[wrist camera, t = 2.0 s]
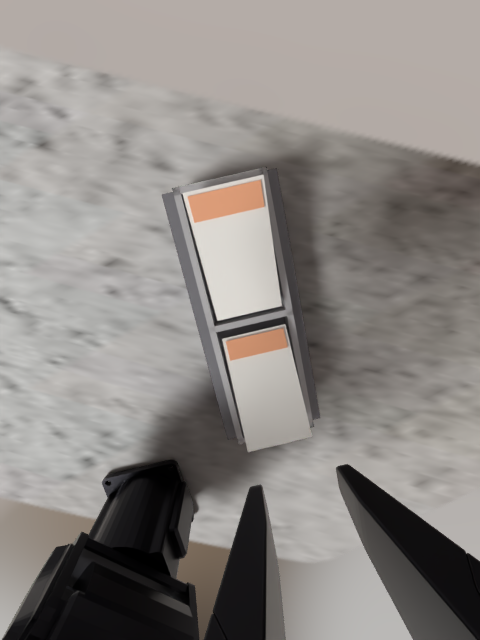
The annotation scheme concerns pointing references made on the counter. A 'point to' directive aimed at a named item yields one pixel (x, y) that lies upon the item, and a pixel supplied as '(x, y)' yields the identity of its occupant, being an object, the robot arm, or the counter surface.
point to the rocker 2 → (266, 388)
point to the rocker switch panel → (218, 330)
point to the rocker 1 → (235, 246)
